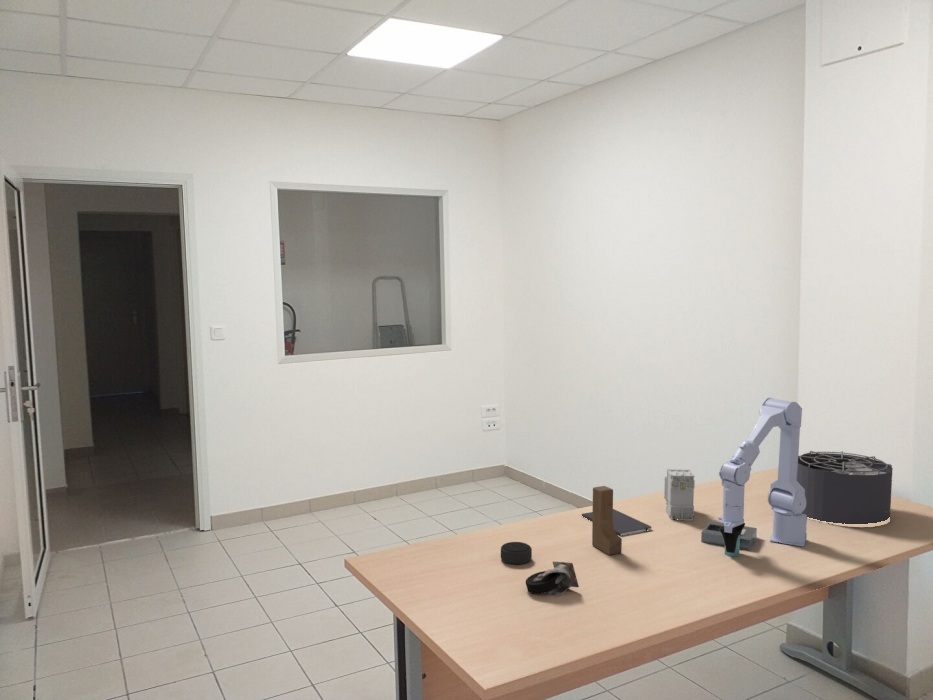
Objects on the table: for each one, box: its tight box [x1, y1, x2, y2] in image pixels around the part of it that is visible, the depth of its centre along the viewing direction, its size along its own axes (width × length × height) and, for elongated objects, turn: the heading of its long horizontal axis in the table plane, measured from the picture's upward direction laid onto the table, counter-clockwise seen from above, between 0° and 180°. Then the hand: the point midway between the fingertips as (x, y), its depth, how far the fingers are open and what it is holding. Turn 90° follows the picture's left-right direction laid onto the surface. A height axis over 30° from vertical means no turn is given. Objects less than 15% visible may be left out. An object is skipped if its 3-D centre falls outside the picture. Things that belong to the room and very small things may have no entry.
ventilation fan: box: [797, 450, 893, 524], centre depth 249 cm, size 30×18×30 cm
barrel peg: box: [724, 534, 740, 558], centre depth 213 cm, size 4×4×6 cm
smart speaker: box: [500, 541, 533, 565], centre depth 211 cm, size 9×9×4 cm
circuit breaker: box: [663, 468, 696, 521], centre depth 250 cm, size 8×14×15 cm, turn 174°
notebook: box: [581, 508, 653, 537], centre depth 241 cm, size 13×2×21 cm
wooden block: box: [591, 485, 623, 556], centre depth 217 cm, size 9×4×18 cm, turn 24°
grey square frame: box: [700, 520, 758, 550], centre depth 225 cm, size 14×12×3 cm
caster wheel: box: [525, 561, 580, 596], centre depth 189 cm, size 7×11×10 cm
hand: (732, 549), depth 214 cm, fingers closed on barrel peg, 4 cm apart
